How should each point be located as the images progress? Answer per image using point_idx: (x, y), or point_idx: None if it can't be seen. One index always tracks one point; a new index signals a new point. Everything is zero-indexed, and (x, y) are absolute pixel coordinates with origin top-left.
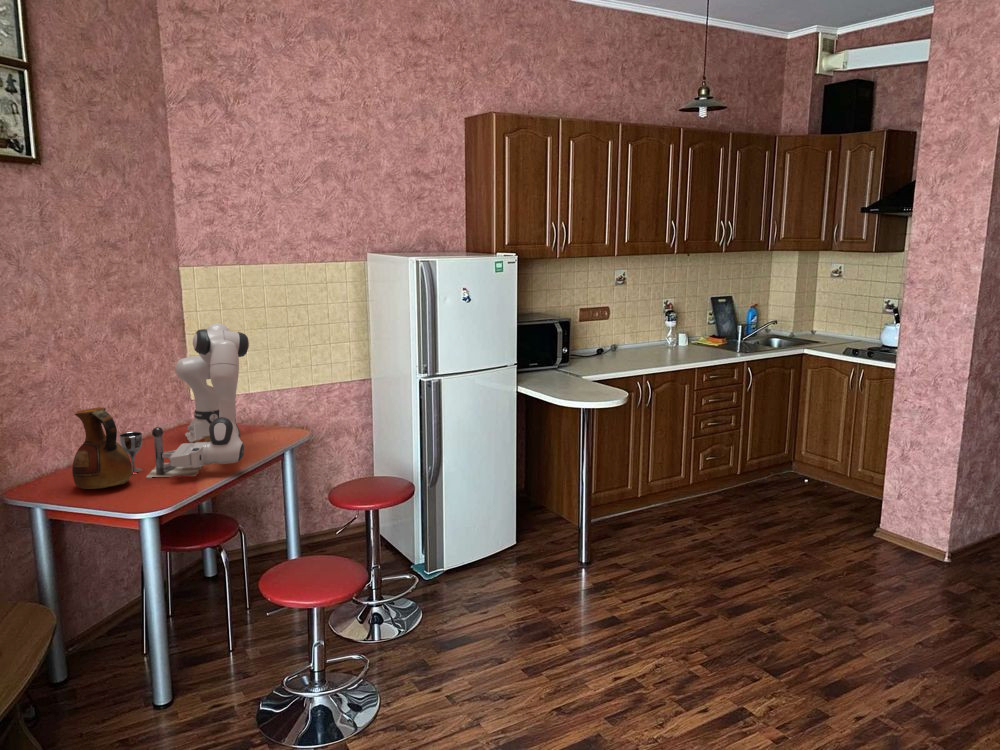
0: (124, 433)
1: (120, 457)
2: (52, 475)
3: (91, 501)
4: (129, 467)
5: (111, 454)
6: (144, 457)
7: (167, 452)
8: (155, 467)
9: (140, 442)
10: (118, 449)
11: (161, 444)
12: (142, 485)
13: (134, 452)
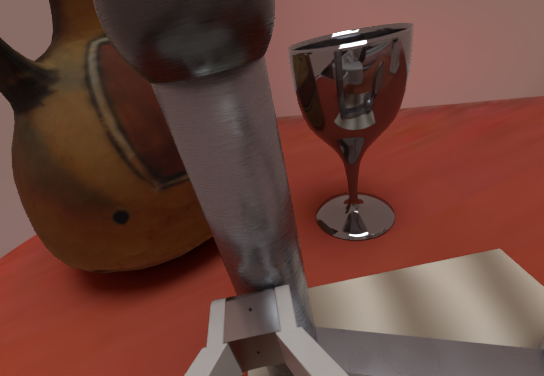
0: (364, 30)
1: (34, 164)
2: (287, 123)
3: (27, 259)
4: (90, 230)
5: (14, 132)
6: (539, 166)
7: (258, 331)
8: (416, 269)
9: (351, 100)
10: (45, 115)
11: (216, 204)
12: (128, 345)
13: (334, 145)
